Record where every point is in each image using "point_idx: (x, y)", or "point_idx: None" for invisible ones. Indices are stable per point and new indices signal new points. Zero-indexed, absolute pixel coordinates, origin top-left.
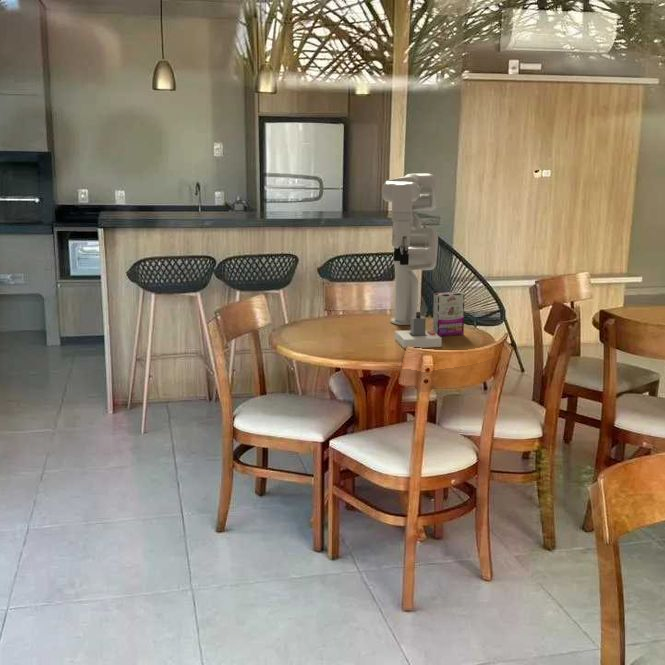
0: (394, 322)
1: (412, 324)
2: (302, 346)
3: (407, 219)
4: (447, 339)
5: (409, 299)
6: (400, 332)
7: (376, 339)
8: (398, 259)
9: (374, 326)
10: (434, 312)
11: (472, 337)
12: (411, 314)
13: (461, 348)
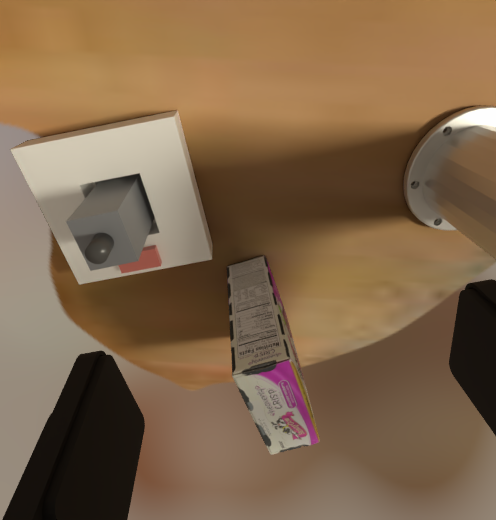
0: (443, 122)
1: (95, 204)
2: None
3: None
4: (192, 290)
5: (479, 224)
6: (144, 139)
7: (160, 15)
8: (463, 346)
9: (423, 15)
10: (263, 304)
11: (222, 350)
12: (438, 204)
13: (82, 317)
